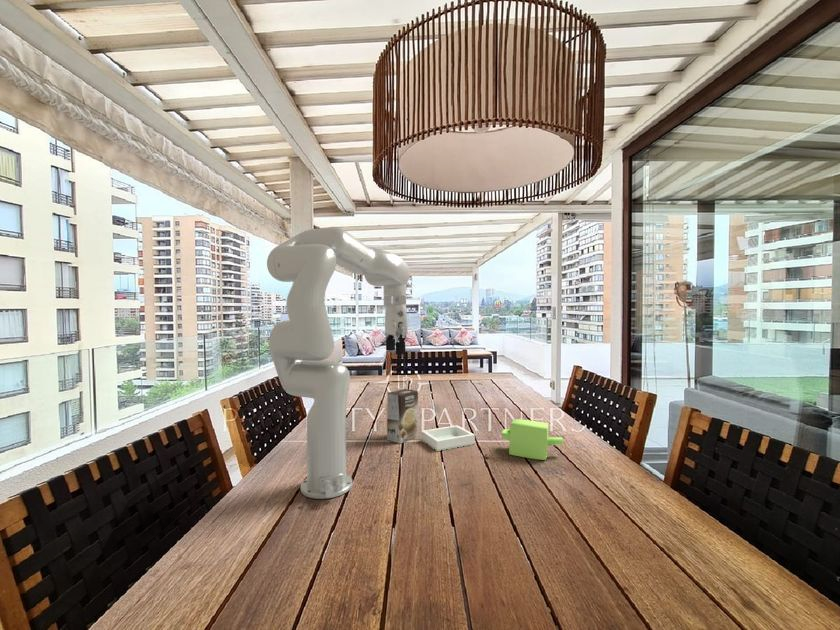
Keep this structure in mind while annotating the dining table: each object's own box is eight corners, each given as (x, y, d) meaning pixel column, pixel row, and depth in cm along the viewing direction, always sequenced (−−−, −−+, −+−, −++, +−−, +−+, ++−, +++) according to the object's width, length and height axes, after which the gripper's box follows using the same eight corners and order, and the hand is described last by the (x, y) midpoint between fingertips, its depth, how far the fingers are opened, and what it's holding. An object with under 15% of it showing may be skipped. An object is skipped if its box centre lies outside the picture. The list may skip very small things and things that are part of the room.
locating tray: (474, 444, 125) (474, 434, 125) (437, 451, 119) (437, 441, 119) (457, 434, 135) (457, 425, 135) (421, 440, 129) (421, 430, 129)
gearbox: (563, 453, 120) (564, 422, 120) (562, 463, 110) (563, 430, 111) (504, 444, 126) (505, 415, 126) (499, 453, 117) (500, 422, 117)
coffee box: (400, 444, 125) (400, 395, 125) (386, 440, 130) (386, 392, 129) (418, 436, 133) (418, 390, 132) (404, 433, 137) (404, 388, 136)
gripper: (415, 301, 122) (415, 355, 123) (396, 301, 138) (396, 348, 139) (393, 301, 119) (393, 356, 120) (376, 301, 135) (377, 349, 136)
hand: (395, 352), depth 129 cm, fingers open, 9 cm apart
